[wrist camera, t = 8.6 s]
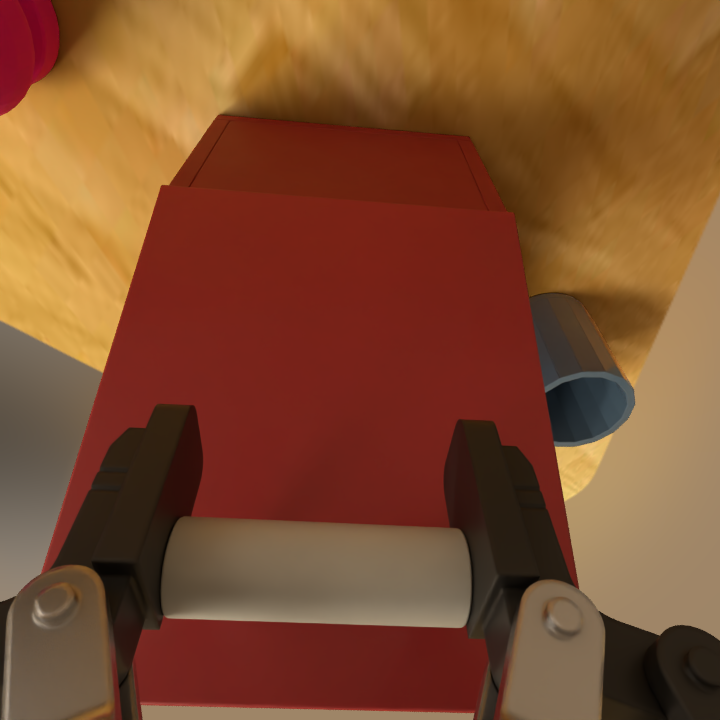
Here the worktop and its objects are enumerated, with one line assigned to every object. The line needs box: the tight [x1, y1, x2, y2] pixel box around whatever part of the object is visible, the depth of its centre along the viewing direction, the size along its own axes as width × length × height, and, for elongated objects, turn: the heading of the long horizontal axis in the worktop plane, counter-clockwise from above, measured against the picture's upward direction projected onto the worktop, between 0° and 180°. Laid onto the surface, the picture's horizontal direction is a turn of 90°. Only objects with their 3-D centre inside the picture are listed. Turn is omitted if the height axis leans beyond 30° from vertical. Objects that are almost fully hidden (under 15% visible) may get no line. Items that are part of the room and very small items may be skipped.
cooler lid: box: [41, 185, 579, 713], centre depth 15 cm, size 16×14×5 cm
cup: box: [529, 293, 635, 447], centre depth 34 cm, size 6×6×8 cm
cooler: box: [169, 115, 507, 212], centre depth 30 cm, size 16×14×10 cm
